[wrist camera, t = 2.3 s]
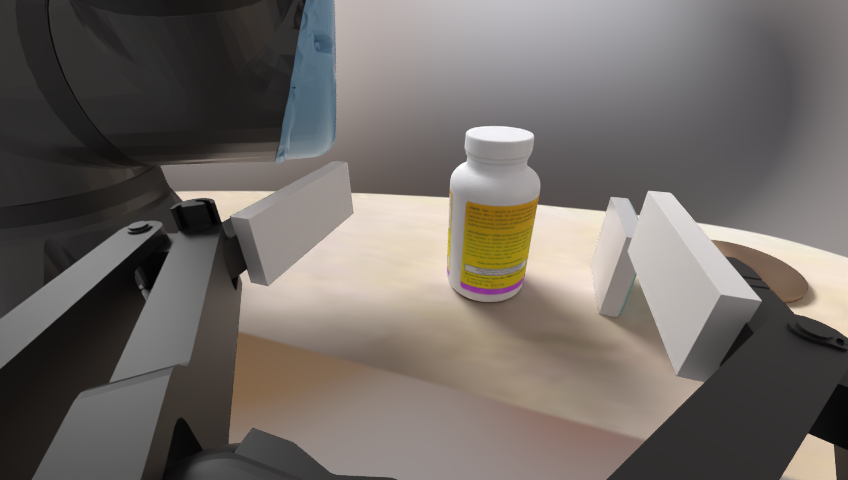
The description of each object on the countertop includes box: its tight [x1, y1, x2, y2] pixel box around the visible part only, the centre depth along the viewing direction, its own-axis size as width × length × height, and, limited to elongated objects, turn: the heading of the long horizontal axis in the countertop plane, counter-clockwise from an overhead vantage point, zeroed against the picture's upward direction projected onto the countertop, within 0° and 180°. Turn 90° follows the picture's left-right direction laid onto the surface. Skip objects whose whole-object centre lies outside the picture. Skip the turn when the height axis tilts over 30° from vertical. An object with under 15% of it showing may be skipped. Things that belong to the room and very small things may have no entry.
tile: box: [590, 197, 638, 317], centre depth 27 cm, size 2×7×7 cm, turn 162°
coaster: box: [711, 240, 808, 303], centre depth 31 cm, size 9×9×1 cm
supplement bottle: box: [447, 126, 540, 302], centre depth 27 cm, size 7×7×13 cm
